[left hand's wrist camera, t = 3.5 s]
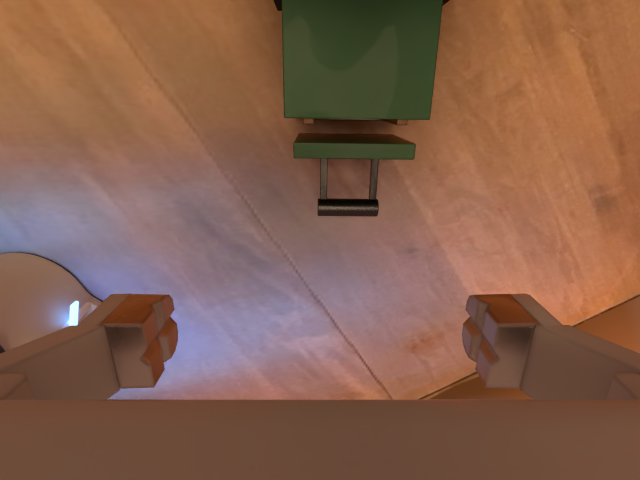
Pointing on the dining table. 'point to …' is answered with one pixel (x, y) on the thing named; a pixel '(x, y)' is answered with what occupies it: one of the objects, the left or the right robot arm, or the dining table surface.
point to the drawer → (351, 149)
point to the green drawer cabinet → (359, 58)
